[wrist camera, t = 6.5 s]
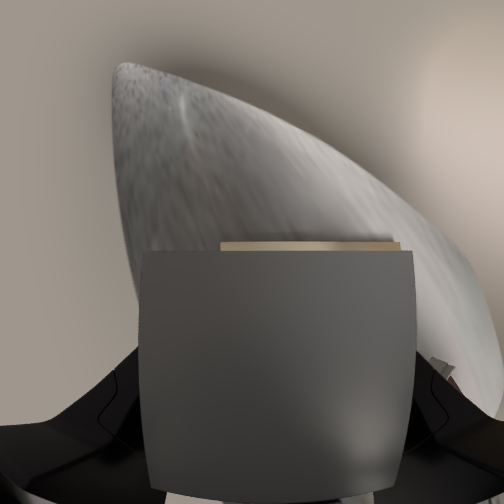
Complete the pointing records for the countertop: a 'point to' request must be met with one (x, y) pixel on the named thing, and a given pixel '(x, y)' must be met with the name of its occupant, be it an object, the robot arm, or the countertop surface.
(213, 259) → the tall gray pillar
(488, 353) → the countertop surface
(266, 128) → the countertop surface
